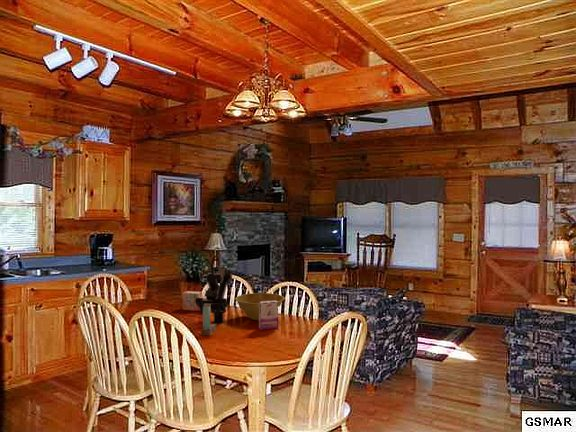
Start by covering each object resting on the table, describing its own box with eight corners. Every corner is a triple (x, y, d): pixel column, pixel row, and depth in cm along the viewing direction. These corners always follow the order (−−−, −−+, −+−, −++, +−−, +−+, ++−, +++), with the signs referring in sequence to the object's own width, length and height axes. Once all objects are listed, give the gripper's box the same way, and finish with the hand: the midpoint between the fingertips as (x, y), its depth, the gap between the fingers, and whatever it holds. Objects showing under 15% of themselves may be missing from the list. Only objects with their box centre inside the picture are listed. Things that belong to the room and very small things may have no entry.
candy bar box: (276, 326, 280) (276, 300, 280) (278, 328, 276) (278, 301, 275) (258, 327, 277) (258, 301, 277) (260, 330, 273) (260, 302, 272)
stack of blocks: (213, 309, 324) (213, 292, 323) (209, 311, 318) (209, 294, 317) (186, 307, 330) (186, 290, 330) (182, 309, 324) (182, 292, 324)
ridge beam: (208, 328, 275) (208, 323, 275) (216, 328, 275) (216, 324, 274) (201, 335, 261) (201, 330, 261) (209, 335, 261) (209, 330, 261)
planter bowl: (262, 327, 279) (262, 305, 279) (225, 318, 298) (225, 298, 298) (293, 316, 305) (294, 296, 304) (257, 309, 324) (257, 291, 324)
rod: (206, 327, 266) (206, 305, 265) (211, 329, 264) (211, 306, 263) (201, 329, 262) (201, 307, 262) (206, 330, 260) (206, 307, 260)
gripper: (195, 284, 273) (190, 307, 263) (226, 285, 271) (222, 308, 261) (199, 294, 281) (194, 317, 271) (229, 295, 280) (225, 317, 269)
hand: (208, 314), depth 268 cm, fingers open, 9 cm apart
